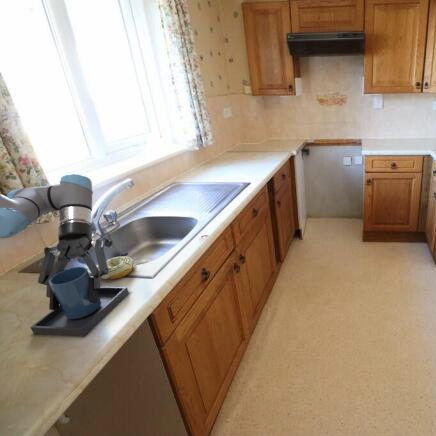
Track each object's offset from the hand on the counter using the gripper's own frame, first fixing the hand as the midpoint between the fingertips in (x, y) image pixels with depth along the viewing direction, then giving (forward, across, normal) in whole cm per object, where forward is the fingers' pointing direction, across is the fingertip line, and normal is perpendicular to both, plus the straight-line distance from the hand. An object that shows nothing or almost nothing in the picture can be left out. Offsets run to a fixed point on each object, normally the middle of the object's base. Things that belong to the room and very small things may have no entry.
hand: (73, 305), depth 84 cm
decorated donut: (-13, -3, -20) cm, 24 cm away
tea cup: (0, 0, -5) cm, 5 cm away
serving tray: (+1, 0, -6) cm, 6 cm away
